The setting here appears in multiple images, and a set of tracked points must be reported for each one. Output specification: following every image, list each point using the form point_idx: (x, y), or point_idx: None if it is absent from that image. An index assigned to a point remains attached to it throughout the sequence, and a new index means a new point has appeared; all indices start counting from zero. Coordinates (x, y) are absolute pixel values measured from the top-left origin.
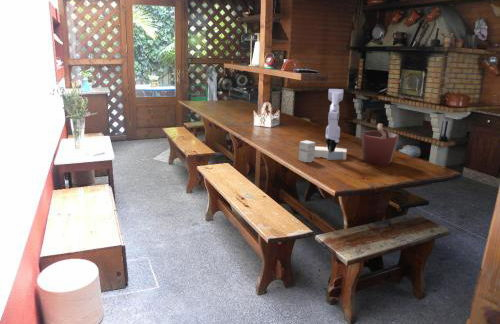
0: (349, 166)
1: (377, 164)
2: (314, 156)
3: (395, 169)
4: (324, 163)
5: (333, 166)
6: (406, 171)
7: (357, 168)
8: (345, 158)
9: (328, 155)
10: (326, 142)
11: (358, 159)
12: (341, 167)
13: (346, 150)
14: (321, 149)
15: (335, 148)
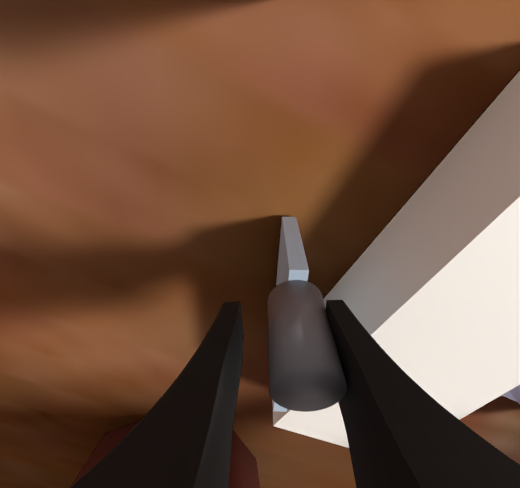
0: (62, 307)
1: (99, 443)
2: (486, 116)
3: (44, 461)
4: (157, 115)
5: (31, 169)
6: (18, 475)
7: (13, 333)
8: None
9: (284, 249)
10: (447, 422)
11: (254, 414)
12: (10, 233)
13: (329, 441)
14: (517, 256)
15: (446, 404)
